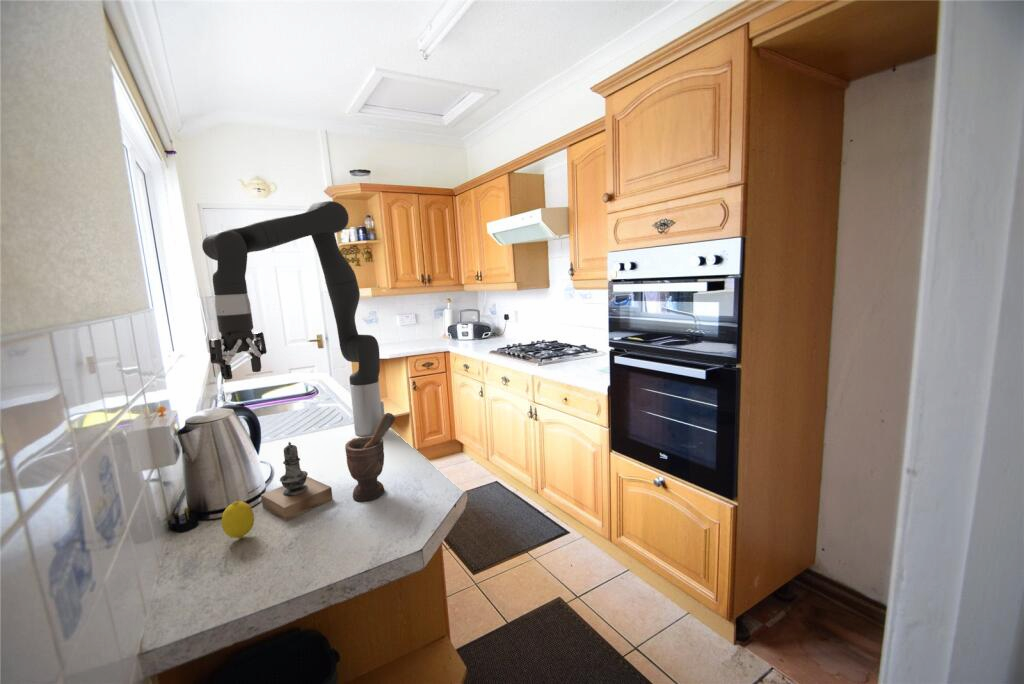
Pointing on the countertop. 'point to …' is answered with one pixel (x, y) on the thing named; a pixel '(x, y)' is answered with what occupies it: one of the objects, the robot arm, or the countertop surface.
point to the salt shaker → (293, 473)
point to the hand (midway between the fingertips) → (242, 375)
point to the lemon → (237, 519)
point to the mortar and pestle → (368, 461)
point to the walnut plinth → (296, 499)
